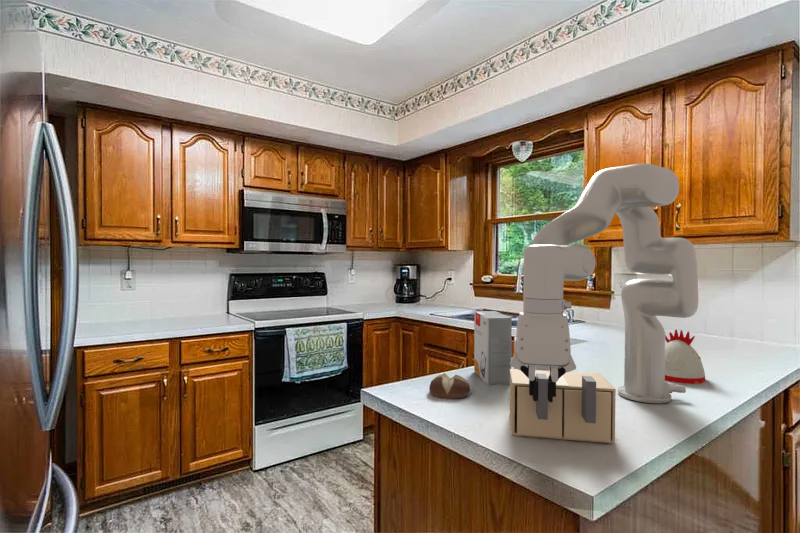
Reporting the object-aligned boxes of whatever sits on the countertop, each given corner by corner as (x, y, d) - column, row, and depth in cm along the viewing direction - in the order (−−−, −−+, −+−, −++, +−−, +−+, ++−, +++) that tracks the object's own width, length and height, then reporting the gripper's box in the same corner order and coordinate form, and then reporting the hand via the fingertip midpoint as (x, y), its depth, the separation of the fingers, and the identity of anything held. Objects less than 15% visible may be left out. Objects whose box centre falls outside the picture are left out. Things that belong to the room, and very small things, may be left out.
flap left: (561, 436, 89) (562, 374, 89) (565, 446, 85) (565, 380, 85) (517, 433, 91) (517, 371, 91) (518, 442, 87) (518, 377, 86)
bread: (425, 397, 117) (425, 379, 117) (436, 386, 128) (436, 369, 127) (466, 402, 113) (466, 383, 113) (474, 390, 124) (474, 372, 124)
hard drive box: (473, 371, 143) (473, 310, 143) (496, 371, 144) (496, 310, 143) (486, 385, 127) (487, 317, 127) (512, 385, 128) (512, 317, 128)
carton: (600, 421, 99) (600, 373, 99) (614, 443, 88) (615, 388, 87) (509, 415, 103) (509, 368, 103) (511, 435, 92) (512, 382, 91)
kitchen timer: (697, 386, 127) (697, 335, 127) (645, 377, 137) (646, 329, 137) (710, 378, 136) (711, 330, 136) (661, 369, 146) (662, 325, 146)
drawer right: (610, 440, 87) (610, 376, 87) (616, 450, 83) (617, 382, 83) (563, 437, 89) (564, 374, 89) (567, 446, 85) (568, 380, 85)
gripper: (582, 306, 89) (581, 396, 89) (501, 304, 92) (500, 391, 92) (590, 310, 81) (589, 409, 82) (501, 308, 84) (501, 403, 85)
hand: (542, 398), depth 87 cm, fingers closed
